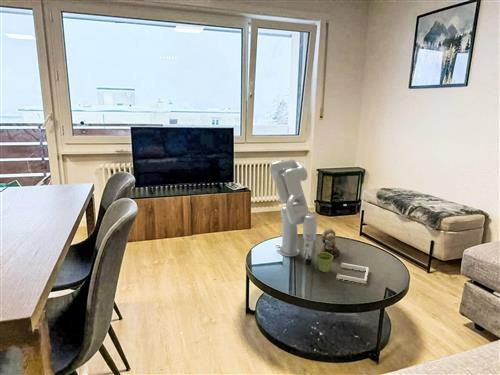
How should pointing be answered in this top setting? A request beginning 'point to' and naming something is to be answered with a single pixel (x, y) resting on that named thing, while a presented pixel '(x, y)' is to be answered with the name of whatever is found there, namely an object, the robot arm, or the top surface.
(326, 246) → the seated figurine
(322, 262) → the plant pot
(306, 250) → the robot arm
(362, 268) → the white u-shaped block
